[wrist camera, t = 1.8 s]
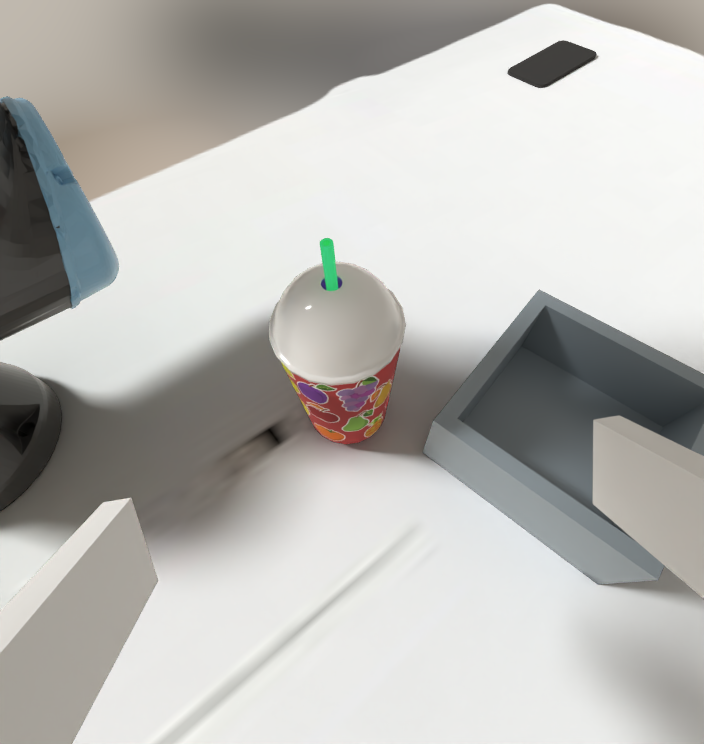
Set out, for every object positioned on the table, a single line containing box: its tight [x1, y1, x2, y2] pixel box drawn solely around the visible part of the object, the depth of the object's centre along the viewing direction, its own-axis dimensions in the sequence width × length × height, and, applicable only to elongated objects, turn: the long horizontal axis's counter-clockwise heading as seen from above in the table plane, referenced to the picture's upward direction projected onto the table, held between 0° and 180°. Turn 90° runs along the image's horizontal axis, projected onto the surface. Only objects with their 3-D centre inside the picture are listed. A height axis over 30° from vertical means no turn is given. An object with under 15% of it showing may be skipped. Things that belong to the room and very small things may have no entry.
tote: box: [423, 290, 704, 584], centre depth 31 cm, size 15×15×7 cm
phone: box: [508, 41, 596, 88], centre depth 66 cm, size 7×1×15 cm
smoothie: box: [269, 238, 406, 444], centre depth 28 cm, size 8×8×20 cm
